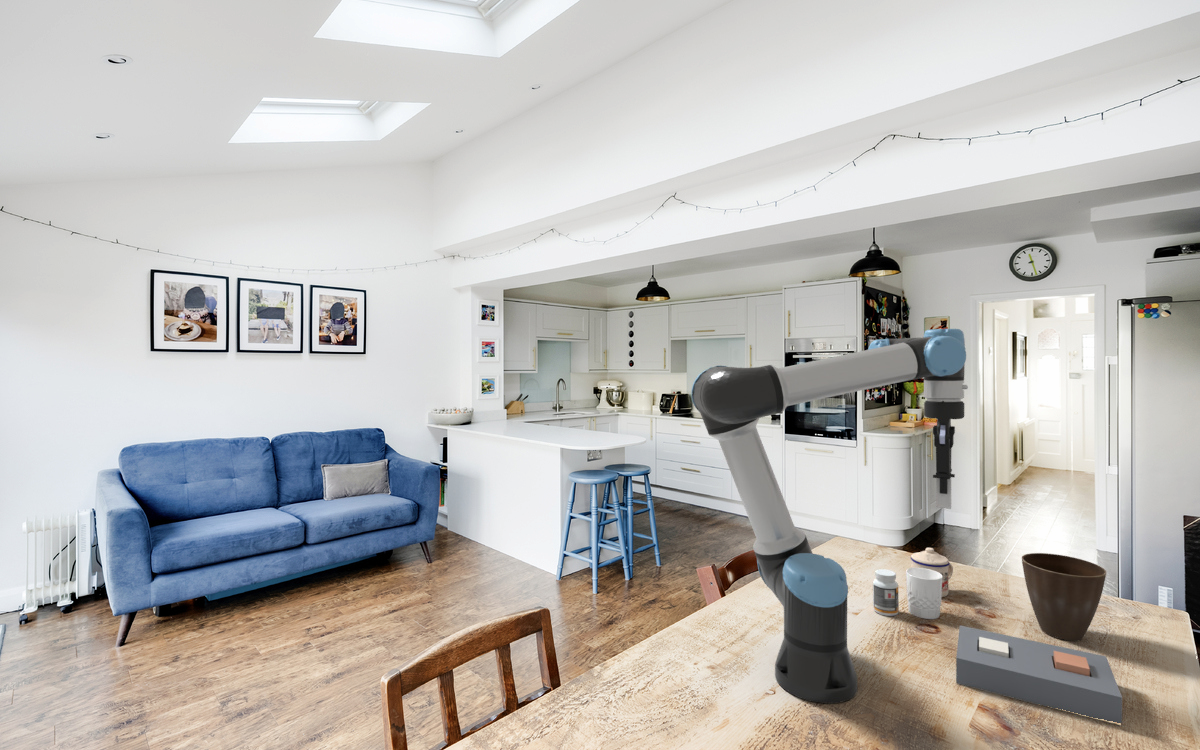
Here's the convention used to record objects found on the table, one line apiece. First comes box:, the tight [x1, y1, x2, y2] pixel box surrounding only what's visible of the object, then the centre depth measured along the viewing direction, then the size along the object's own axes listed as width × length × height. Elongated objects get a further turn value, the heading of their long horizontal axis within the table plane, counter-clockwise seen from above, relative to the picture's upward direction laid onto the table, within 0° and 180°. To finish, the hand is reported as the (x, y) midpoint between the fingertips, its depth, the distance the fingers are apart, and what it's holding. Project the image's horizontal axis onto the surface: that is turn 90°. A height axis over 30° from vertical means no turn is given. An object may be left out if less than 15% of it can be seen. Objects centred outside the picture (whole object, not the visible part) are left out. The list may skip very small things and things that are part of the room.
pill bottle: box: [872, 568, 900, 617], centre depth 142 cm, size 6×6×10 cm
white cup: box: [905, 567, 943, 620], centre depth 141 cm, size 8×8×10 cm
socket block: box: [955, 624, 1123, 724], centre depth 111 cm, size 16×24×5 cm, turn 56°
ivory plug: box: [979, 637, 1009, 658], centre depth 114 cm, size 5×5×6 cm
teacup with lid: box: [910, 547, 954, 598], centre depth 154 cm, size 12×9×12 cm
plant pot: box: [1021, 552, 1107, 642], centre depth 130 cm, size 15×15×16 cm
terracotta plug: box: [1054, 651, 1090, 677], centre depth 107 cm, size 5×5×6 cm
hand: (943, 507), depth 125 cm, fingers closed
